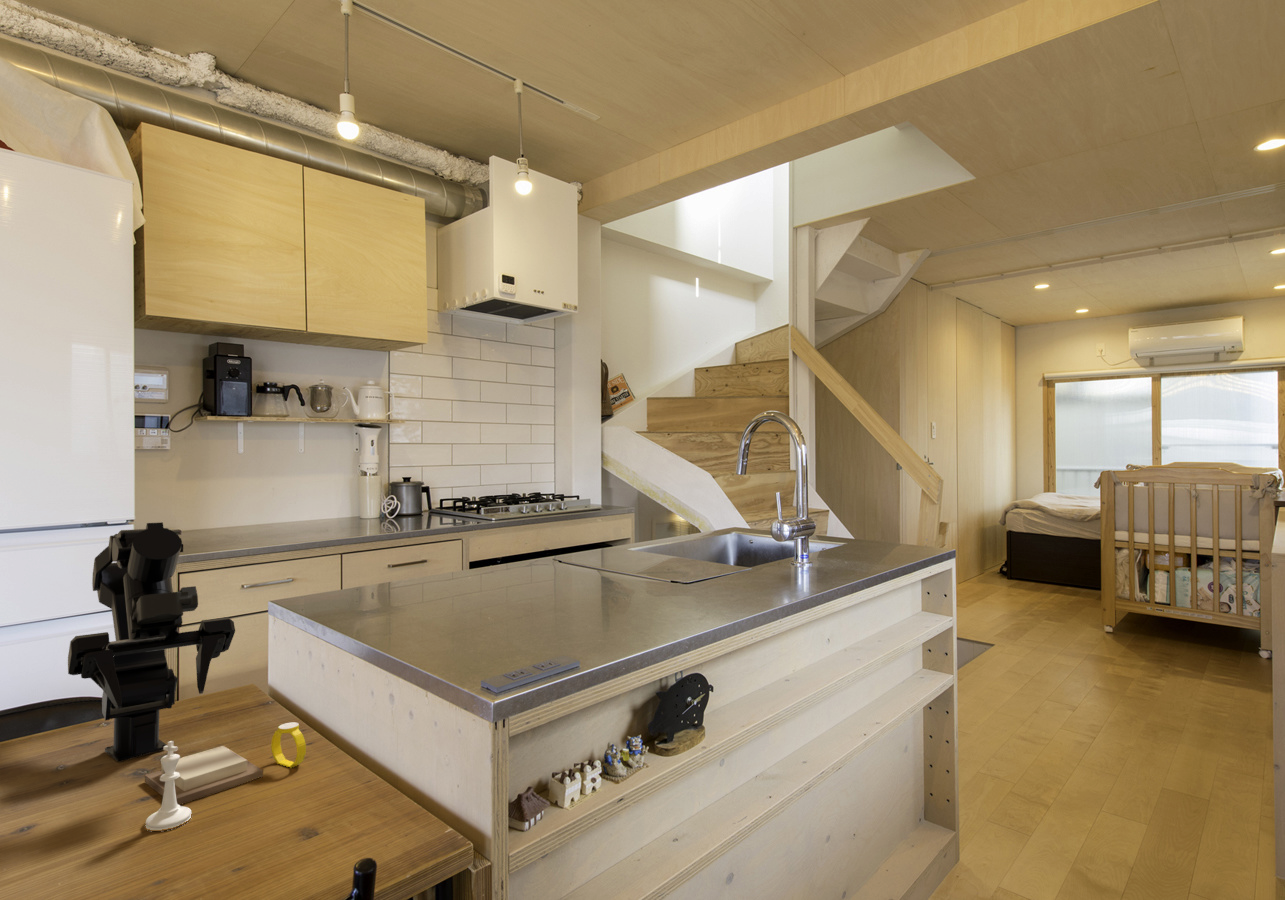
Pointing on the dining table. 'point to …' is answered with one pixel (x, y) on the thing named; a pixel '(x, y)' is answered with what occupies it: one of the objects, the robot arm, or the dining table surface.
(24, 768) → the dining table surface
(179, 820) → the chess piece
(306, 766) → the dining table surface
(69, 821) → the dining table surface
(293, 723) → the watch
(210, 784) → the build base
